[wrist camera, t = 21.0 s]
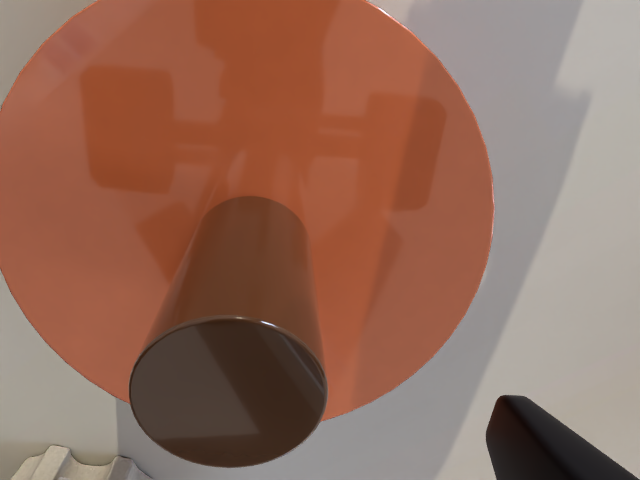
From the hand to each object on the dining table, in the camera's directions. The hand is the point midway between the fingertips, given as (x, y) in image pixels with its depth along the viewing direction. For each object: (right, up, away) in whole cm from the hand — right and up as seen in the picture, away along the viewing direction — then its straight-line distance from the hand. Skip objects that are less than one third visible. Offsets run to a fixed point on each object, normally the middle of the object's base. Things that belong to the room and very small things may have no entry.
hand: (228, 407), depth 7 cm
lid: (0, +3, +5) cm, 6 cm away
